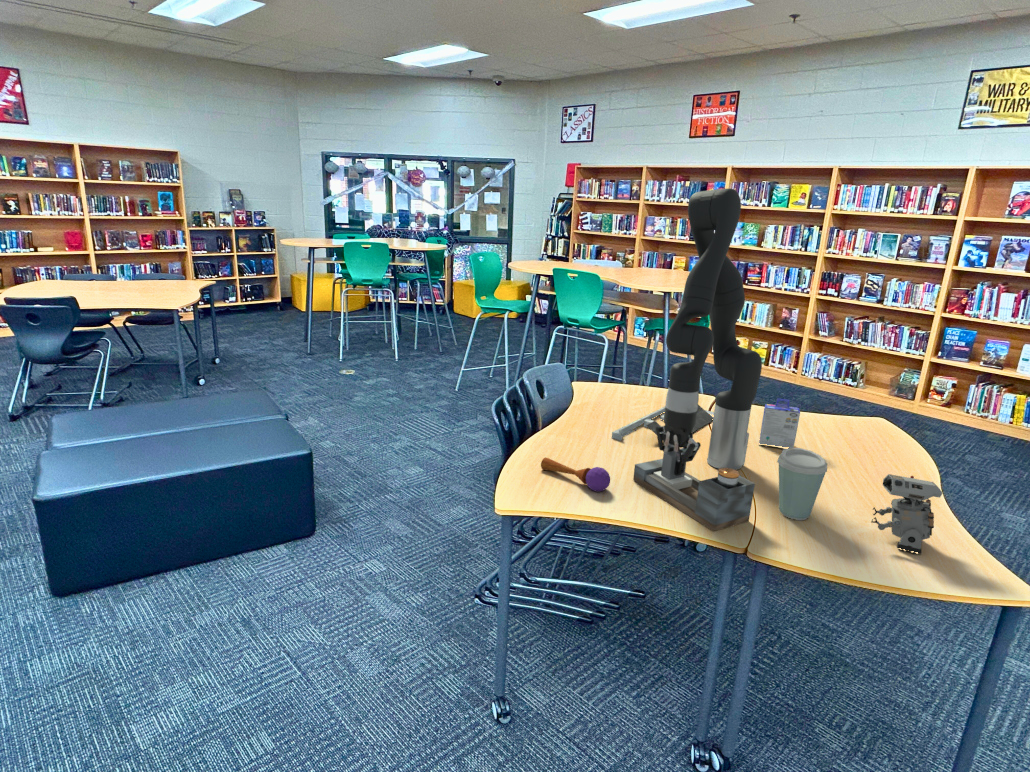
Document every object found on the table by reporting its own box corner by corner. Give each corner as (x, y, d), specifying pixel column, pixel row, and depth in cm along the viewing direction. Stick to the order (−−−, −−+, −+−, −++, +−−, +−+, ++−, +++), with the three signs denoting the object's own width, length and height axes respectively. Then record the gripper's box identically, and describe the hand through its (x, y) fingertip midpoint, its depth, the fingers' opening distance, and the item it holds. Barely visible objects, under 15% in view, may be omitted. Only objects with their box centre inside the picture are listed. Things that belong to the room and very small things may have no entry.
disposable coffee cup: (828, 522, 141) (840, 463, 137) (789, 528, 138) (801, 466, 134) (795, 501, 151) (806, 445, 147) (758, 506, 148) (768, 448, 144)
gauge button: (726, 480, 141) (728, 466, 140) (741, 488, 137) (743, 474, 136) (712, 484, 139) (714, 469, 138) (727, 492, 135) (729, 477, 134)
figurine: (866, 525, 141) (880, 465, 137) (925, 539, 136) (941, 477, 132) (866, 542, 133) (881, 479, 129) (928, 558, 128) (946, 493, 124)
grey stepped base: (665, 473, 164) (669, 440, 161) (748, 521, 140) (755, 483, 138) (633, 480, 159) (636, 446, 156) (713, 531, 135) (719, 492, 133)
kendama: (553, 451, 165) (616, 469, 152) (550, 473, 166) (613, 492, 153) (539, 453, 161) (602, 471, 148) (536, 475, 161) (599, 495, 148)
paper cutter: (611, 439, 187) (613, 422, 186) (676, 406, 221) (678, 392, 219) (665, 456, 176) (668, 438, 175) (725, 419, 210) (727, 403, 208)
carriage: (671, 475, 158) (675, 446, 156) (691, 486, 153) (695, 456, 150) (652, 479, 156) (656, 450, 153) (671, 491, 150) (675, 460, 147)
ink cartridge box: (792, 445, 188) (801, 400, 183) (794, 451, 183) (802, 405, 178) (758, 439, 191) (765, 395, 187) (758, 446, 186) (766, 400, 182)
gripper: (714, 413, 144) (704, 480, 149) (673, 396, 156) (665, 459, 161) (690, 417, 141) (681, 486, 146) (650, 399, 152) (643, 463, 157)
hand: (673, 471), depth 153 cm, fingers closed on carriage, 3 cm apart
